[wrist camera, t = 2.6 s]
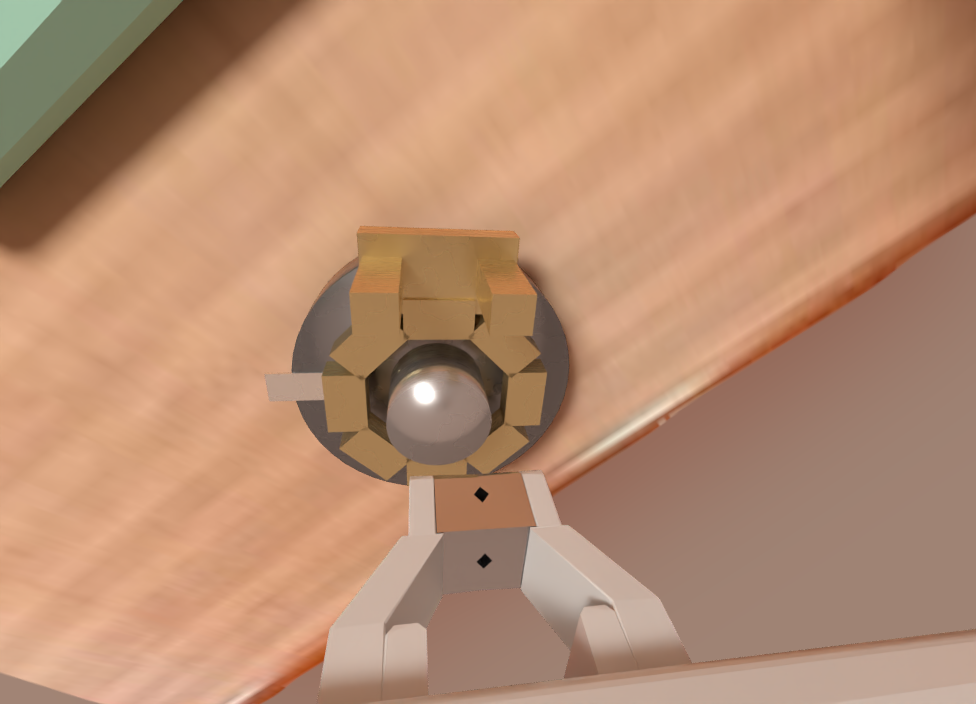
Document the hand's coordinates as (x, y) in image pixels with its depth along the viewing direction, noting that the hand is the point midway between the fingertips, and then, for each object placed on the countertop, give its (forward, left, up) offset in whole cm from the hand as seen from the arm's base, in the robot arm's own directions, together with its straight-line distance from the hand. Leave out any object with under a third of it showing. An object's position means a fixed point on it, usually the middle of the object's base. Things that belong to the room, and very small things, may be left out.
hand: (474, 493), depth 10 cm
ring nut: (+4, +4, -18) cm, 19 cm away
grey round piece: (+6, +6, -21) cm, 23 cm away
